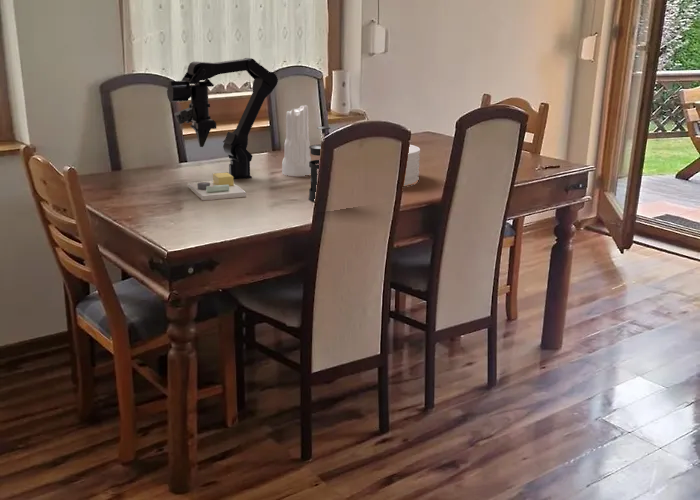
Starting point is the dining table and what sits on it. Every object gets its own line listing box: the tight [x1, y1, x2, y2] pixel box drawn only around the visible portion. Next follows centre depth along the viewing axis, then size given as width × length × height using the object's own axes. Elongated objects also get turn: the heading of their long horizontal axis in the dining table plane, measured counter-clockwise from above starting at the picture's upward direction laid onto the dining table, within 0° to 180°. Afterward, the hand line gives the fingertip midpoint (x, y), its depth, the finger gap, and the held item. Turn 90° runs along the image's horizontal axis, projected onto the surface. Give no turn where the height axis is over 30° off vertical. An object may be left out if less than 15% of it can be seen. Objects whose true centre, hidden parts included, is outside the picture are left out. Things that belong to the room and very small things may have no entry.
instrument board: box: [187, 171, 247, 201], centre depth 254 cm, size 14×20×4 cm
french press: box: [308, 126, 331, 203], centre depth 243 cm, size 12×9×23 cm
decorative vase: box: [281, 104, 312, 177], centre depth 281 cm, size 11×11×25 cm
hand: (201, 146), depth 266 cm, fingers closed
